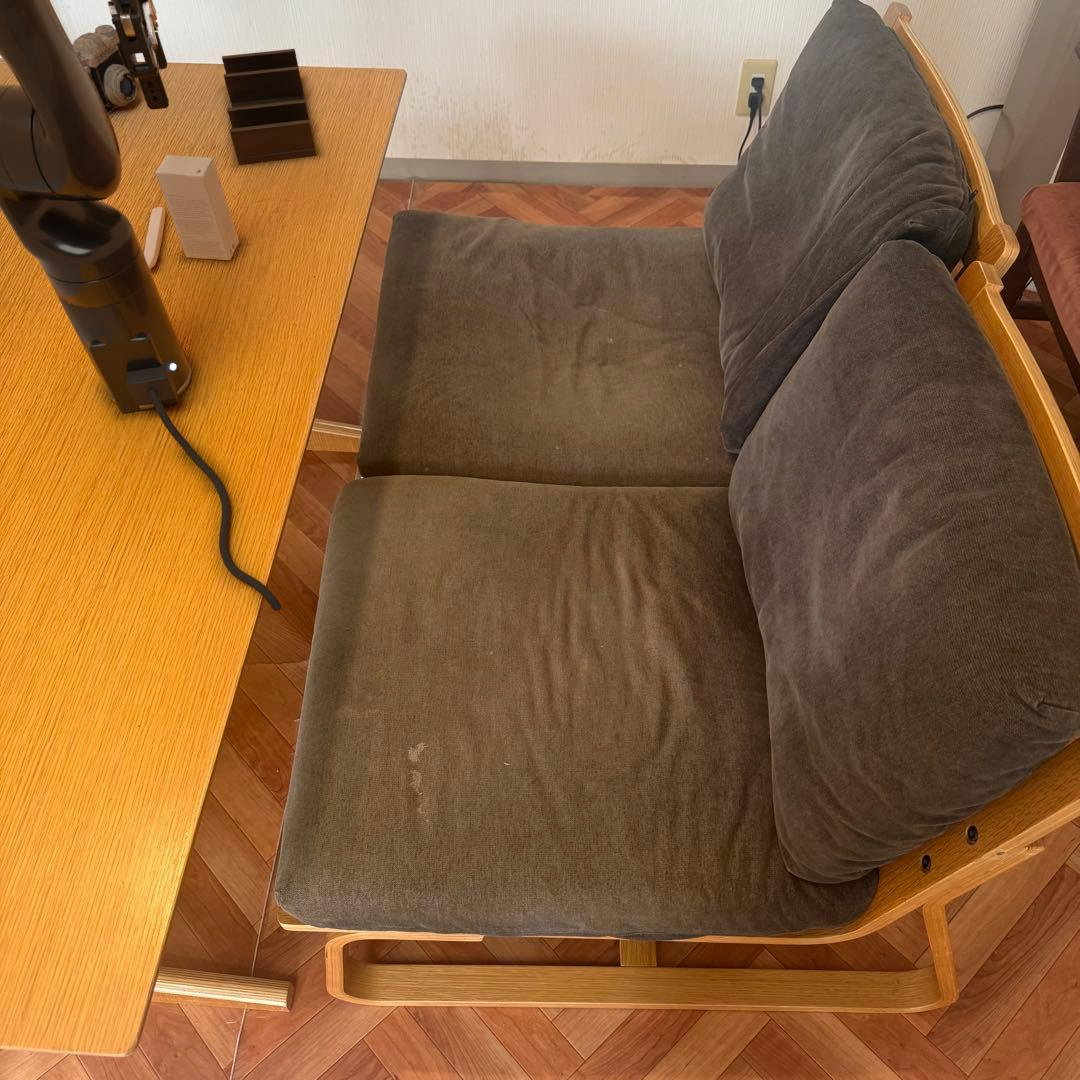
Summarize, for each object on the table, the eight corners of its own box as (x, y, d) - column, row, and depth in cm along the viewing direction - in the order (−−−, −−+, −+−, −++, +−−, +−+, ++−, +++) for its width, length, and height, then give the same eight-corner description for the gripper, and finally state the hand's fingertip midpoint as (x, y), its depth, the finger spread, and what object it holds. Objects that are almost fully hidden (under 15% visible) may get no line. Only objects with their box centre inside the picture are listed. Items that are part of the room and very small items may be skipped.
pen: (144, 278, 112) (139, 267, 111) (156, 212, 121) (152, 201, 119) (157, 277, 113) (152, 266, 111) (168, 211, 121) (164, 200, 119)
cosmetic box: (240, 241, 117) (215, 156, 107) (230, 261, 115) (203, 176, 105) (195, 238, 117) (165, 153, 108) (184, 258, 115) (153, 172, 105)
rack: (316, 155, 129) (309, 122, 125) (238, 165, 128) (229, 131, 123) (301, 80, 142) (294, 48, 138) (230, 88, 140) (221, 55, 136)
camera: (104, 136, 131) (77, 67, 123) (64, 128, 132) (35, 59, 124) (159, 88, 139) (137, 20, 131) (121, 80, 141) (97, 13, 132)
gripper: (65, -106, 89) (124, 59, 102) (58, -46, 81) (123, 125, 94) (143, -112, 90) (191, 52, 103) (144, -53, 82) (196, 117, 95)
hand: (158, 87), depth 99 cm, fingers open, 8 cm apart
